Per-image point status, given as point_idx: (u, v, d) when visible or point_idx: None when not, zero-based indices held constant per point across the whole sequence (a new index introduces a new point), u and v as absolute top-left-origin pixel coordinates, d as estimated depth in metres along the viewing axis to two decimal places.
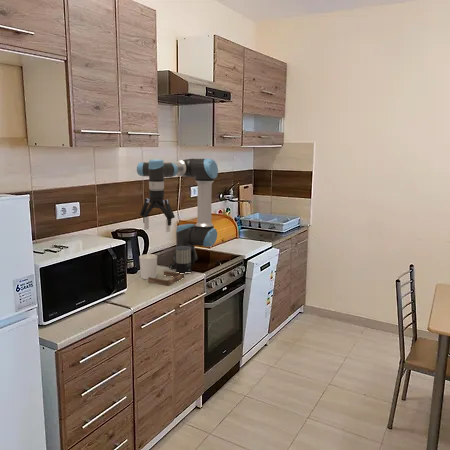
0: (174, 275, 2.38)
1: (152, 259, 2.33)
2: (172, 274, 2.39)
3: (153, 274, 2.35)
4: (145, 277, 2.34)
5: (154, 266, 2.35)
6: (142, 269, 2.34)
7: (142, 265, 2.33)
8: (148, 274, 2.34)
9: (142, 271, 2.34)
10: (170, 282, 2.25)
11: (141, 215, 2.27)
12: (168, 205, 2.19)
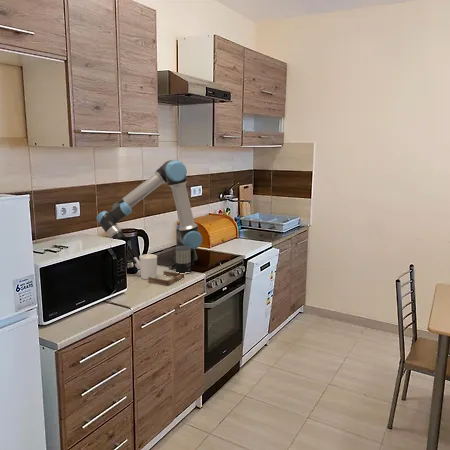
0: (174, 275, 2.38)
1: (152, 259, 2.33)
2: (172, 274, 2.39)
3: (153, 274, 2.35)
4: (145, 277, 2.34)
5: (154, 266, 2.35)
6: (142, 269, 2.34)
7: (142, 265, 2.33)
8: (148, 274, 2.34)
9: (142, 271, 2.34)
10: (170, 282, 2.25)
11: None
12: None
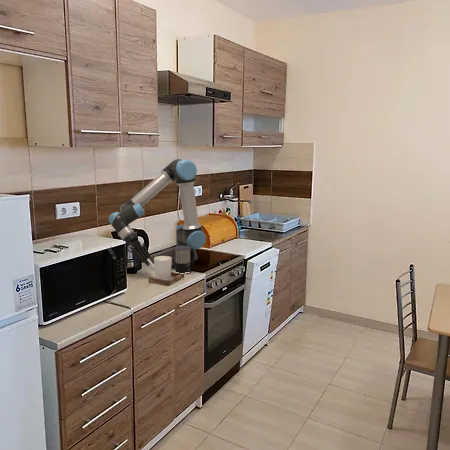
0: (174, 275, 2.38)
1: (167, 261, 2.29)
2: (172, 274, 2.39)
3: (168, 276, 2.31)
4: None
5: (169, 268, 2.31)
6: (157, 271, 2.30)
7: (157, 267, 2.30)
8: (163, 276, 2.30)
9: (157, 273, 2.31)
10: (170, 282, 2.25)
11: None
12: (133, 252, 2.34)
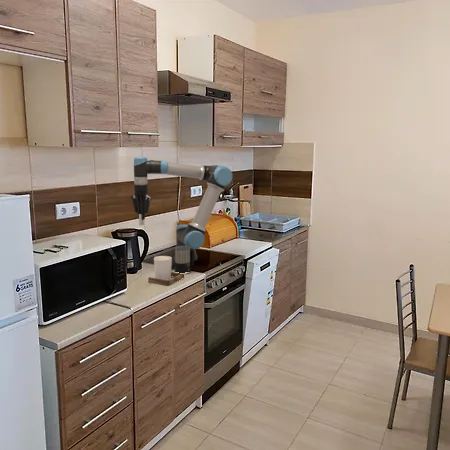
0: (174, 275, 2.38)
1: (167, 261, 2.29)
2: (172, 274, 2.39)
3: (168, 276, 2.31)
4: None
5: (169, 268, 2.31)
6: (157, 271, 2.30)
7: (157, 267, 2.30)
8: (163, 276, 2.30)
9: (157, 273, 2.31)
10: (170, 282, 2.25)
11: (136, 211, 2.49)
12: (148, 202, 2.46)
